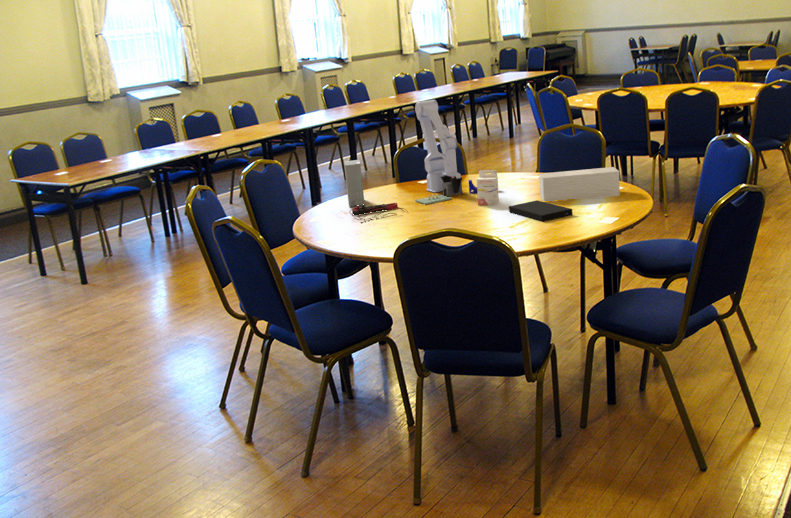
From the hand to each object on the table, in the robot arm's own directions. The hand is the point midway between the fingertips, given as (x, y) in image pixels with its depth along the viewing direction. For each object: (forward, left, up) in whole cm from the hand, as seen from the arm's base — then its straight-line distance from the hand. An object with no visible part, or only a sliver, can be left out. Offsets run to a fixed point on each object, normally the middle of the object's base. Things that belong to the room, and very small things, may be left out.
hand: (452, 191), depth 343 cm
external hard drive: (+63, +4, -2) cm, 64 cm away
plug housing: (0, 0, -2) cm, 2 cm away
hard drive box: (-21, -41, -2) cm, 46 cm away
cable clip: (+7, +12, -2) cm, 14 cm away
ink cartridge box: (+32, 0, -2) cm, 32 cm away
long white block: (+51, +34, -2) cm, 61 cm away
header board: (+5, -13, -1) cm, 14 cm away
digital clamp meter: (+10, -44, -2) cm, 45 cm away
